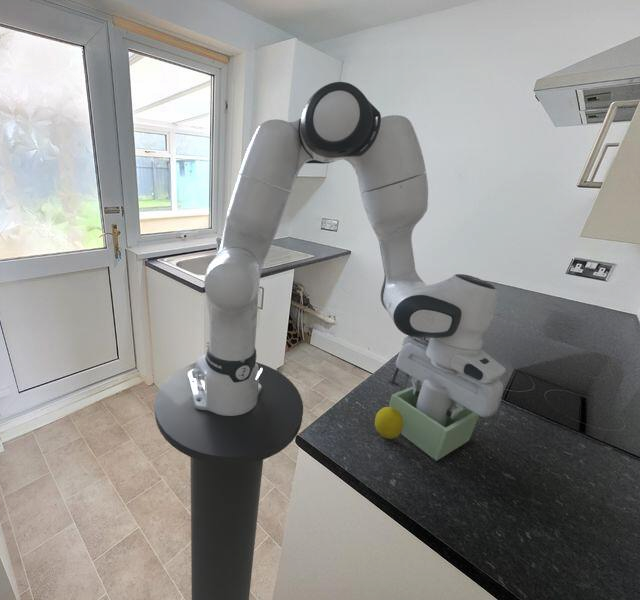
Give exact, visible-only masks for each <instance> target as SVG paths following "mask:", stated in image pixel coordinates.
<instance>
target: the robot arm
mask: <svg viewBox="0 0 640 600" xmlns="http://www.w3.org/2000/svg"><path fill="white" fill-rule="evenodd" d="M340 160H341V161H342V160H344V161H346V162H347V163H349V164H350V165H351V167H352V168H353V170H354V172H355V175H356V176H357V182H358V187H359V192H360V197H361V201H362V205H363V208H364V211H365V214H366V217H367V219H368V222H369V224H370V226H371V228H372V230H373V232H374V235H376V239H377V240H378V244H379V250H380V255H381V261H382V266H383V271H384V278H383V283H382V286H381V290H380V302H381V305H382V306H383V308H384V310H386V311H387V313H388V315H389V317H390V319H391V320H392V322H393V324H394V326H395V327H396V328H397V329H398V331H400V332H401V333H402V334H404V335H406V336H404V338H403V341H402V347H401V349H400V351H399V353H398V356H397V358H396V361H395V365H396V366H397V368H398V369H399V371H401V372H403V373H405V374H406V373H407V374H408V375H409V377H411V379H410V381H411V385H412V386H413V388H414V390H413V395H415V396H416V397H419V394H420V390H421V384H420V383H421V382H422V383H423V381H424V380H427V377H428V378H429V379H431V380H433V381H435V382H436V383H438V384H439V385H441V386H444V387H445V388H447V389H446V392H447V394H448V396H447V397H448V398H450V399H452V400H453V401H455V402H457V403H456V407H458V408H457V409H456V408H454V407H451V408H449V409H448V410H447V413H446V415H447V416H448V417H450V418H452V419H455V418H456V417H457V416H458V413H459V412H460V411H462V410H464V409H465V408H467V409H469V410H471V411H472V412H474V413H476V414H478V415H479V417H481V418H489V417H491V416H493V415H495V414H496V413H497V412H498V409H499V407H500V405H501V401H502V398H503V394H504V393H503V392H504V385H503V381H502V380H501V378H503V377H504V376H505V374H506V372H507V370H506V367H505V366H504V365H502V364H501V363H500V362H498V361H497V360H496V359H494V358H493V357H492V356H490V355H489V354H488V353H486V352H485V350H483V349H482V348H483V344H484V342H483V341H484V335H485V334H486V332H487V331H488V330H489V328H490V327H491V324H492V321H493V318H494V315H495V311H496V308H497V304H498V296H499V295H498V294H499V293H498V290H497V289H496V287H495V286H494V285H492V284H491V283H489V282H488V281H486V280H483V279H480V278H479V277H476V276H472V275H468V274H464V273H463V274H462V273H456V274H454V275H452V276H451V277H449V278H447V279H445V280H442V281H438V282H436V283H432V284H428V285H427V284H425V282H424V281H423V279H421V277H420V275H419V274H418V273H417V269H416V264H415V255H414V248H413V241H412V237H413V233H414V232H413V231H414V229H415V227H416V226H417V224H418V223H419V222H420V221H421V220H422V219H423V218H424V216H425V215H426V213H427V211H428V207H429V181H428V175H427V169H426V163H425V159H424V156H423V152H422V147H421V145H420V142H419V138H418V136H417V133H416V130H415V128H414V125H413V123H412V121H411V120H410V119H409V118H408V117H406V116H403V115H398V114H391V115H386V116H382V115H381V112H380V111H379V110H378V109H377V108H376V106H374V104H373V103H371V101H369V99H368V98H367V97H366V95H365V94H364V93H363V92H362V90H360V89H359V88H358V87H356V86H355V85H354V84H352V83H350V82H346V81H334V82H331V83H327V84H325V85H323V86H322V87H320V88H319V89H318V90H317V91H315V92H314V93H313V94H312V95H311V96H310V98H309V99H308V100H307V102H306V104H305V106H304V107H303V110H302V113H301V117H300V118H297V119H296V120H295V121H287V120H284V119H276V118H275V119H268V120H266V121H264V122H262V123H261V124H260V125H259V126H258V127H257V129H255V132H254V135H253V136H252V139H251V140H250V143H249V145H248V146H247V150H246V152H245V153H244V157H243V159H242V162H241V165H240V169H239V171H238V173H239V174H237V178H236V180H235V185H234V189H233V191H232V195H231V198H230V201H229V205H228V208H227V212H226V217H225V223H224V226H223V227H224V228H223V231H222V237H221V240H220V245H219V248H218V251H217V253H216V255H215V257H214V258H213V259H212V261H211V262H210V263H209V264H208V266H207V268H206V270H205V275H204V283H203V284H204V292H205V296H206V304H207V311H208V319H209V320H208V321H209V333H208V335H209V337H208V338H209V340H208V342H206V344H207V345H206V347H207V350H206V352H205V354H203V355H201V356H199V357H198V358H197V359H196V361H195V363H196V368H194V369H192V370H190V371H189V372H188V374H187V377H188V381H189V385H190V389H191V393H192V397H193V401H194V405H195V408H197V409H200V410H208V411H211V412H214V413H216V414H219V415H224V416H236V415H241V414H244V413H247V412H249V411H250V410H252V409H253V408H254V407H255V405H256V403H257V400H258V394H259V393H260V391H261V390H262V387H261V385H260V384H259V383H258V377H259V375H260V374H261V372H262V368H261V369H260V371H259V372H258V364H256V362H257V358H258V357H257V349H256V340H257V339H256V338H257V325H258V323H257V322H258V306H259V293H260V292H259V289H260V283H261V282H260V280H261V275H262V271H263V268H264V266H265V263H266V260H267V258H268V254H269V252H270V249H271V247H272V244H273V242H274V239H275V237H276V235H277V233H278V230H279V227H280V225H281V222H282V219H283V216H284V214H285V211H286V209H287V206H288V203H289V200H290V197H291V194H292V192H293V189H294V186H295V183H296V180H297V177H298V175H299V173H300V171H301V169H302V168H303V166H304V165H305V164H319V165H320V164H321V165H322V164H323V165H324V164H331V163H335V162H337V161H340ZM419 337H420V338H419ZM423 338H426V339H423ZM427 339H429V340H427Z"/></svg>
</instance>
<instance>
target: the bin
mask: <svg viewBox="0 0 640 600" xmlns="http://www.w3.org/2000/svg"><path fill="white" fill-rule="evenodd" d="M420 384H421V387H422V384H423V383H422V382H420ZM413 390H414V388H413V385H412V386H409V387H407V388H405V389H404V390H402V391H401V390H399V391H397V392H395V393H392V394H391V396H390V400H389V403H388V407H392V408H394V409H396V410H397V411H398V412H399V413H400V414H401V416H402V419H403V428H402V431H401V433H400V435H402V436H403V437H404V438H406V439H407V440H408V441H409V442H411V443H412V444H414V445H415V446H416V447H417V448H419V449H420V450H421V451H423V452H424V453H425V454H427V455H428V456H429V457H431V458H432V459H433V460H434V461H436V462H437V461H439V460H440V459H442V458H444V457H445V456H447V455H448V454H450V453H451V452H453V451H456V450H457V449H458V448H460V447H462V446H463V445H465V444H466V443H467V442H469V441H470V439H471V437H472V435H473V432H474V430H475V427H476V425H477V422H478V420H479V417H480V416H479V415H478V414H476V413H474V412H472V411H471V410H469V409H467V408H465V409H464V410H462V411H460V412H459V413H458V416H457V417H456V418H455V419H452V418H450V417H448V419H447V422H446V425H445V427H444V426H442V425H441V424H439V423H438V422H436V421H435V420H433V419H431V418H430V417H428V416H427V415H425V414H424V413H422V412H421V411H419V410H418V409H416V408H415V407H416V403H417V400H418V397H416V396H415V395H413ZM456 403H457V402H455V401H454V402H453V405H452V407H454V408H456V409H457V408H458V407H456Z"/></svg>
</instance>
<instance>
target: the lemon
mask: <svg viewBox="0 0 640 600" xmlns="http://www.w3.org/2000/svg"><path fill="white" fill-rule="evenodd" d="M374 428H375V430H376V432H377V434H378V435H379V436H381V437H382V438H383V439H386V440H393V439H395V438H398V437H399V435H401V431H402V428H403V419H402V416H401V414H400V413H399V412H398V411H397V410H396V409H394V408H392V407H389V406H385V407H381V409H379V410H378V412H377V413H376V415H375V416H374Z"/></svg>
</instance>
